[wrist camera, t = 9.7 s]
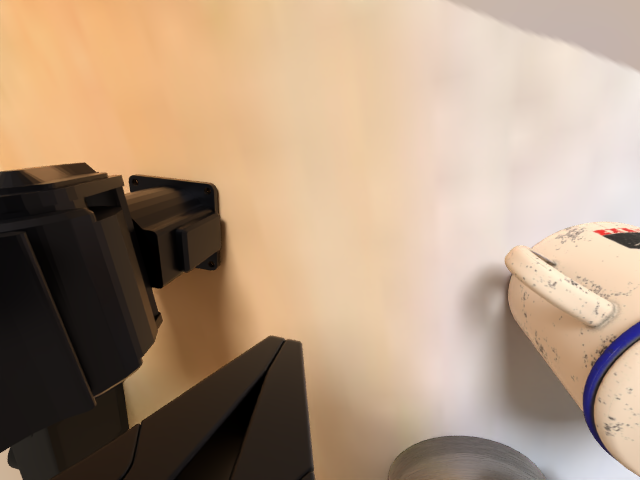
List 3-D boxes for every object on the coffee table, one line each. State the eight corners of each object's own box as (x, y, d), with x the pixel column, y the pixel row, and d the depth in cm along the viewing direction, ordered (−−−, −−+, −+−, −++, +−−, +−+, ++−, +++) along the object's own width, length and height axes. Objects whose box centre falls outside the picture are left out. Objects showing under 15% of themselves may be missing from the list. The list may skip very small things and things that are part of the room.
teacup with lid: (716, 267, 17) (1329, 508, 6) (586, 369, 20) (826, 641, 9) (533, 160, 17) (820, 208, 6) (434, 281, 20) (499, 453, 9)
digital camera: (68, 338, 29) (-22, 397, 22) (118, 351, 28) (40, 415, 22) (85, 414, 32) (12, 484, 26) (129, 427, 32) (66, 503, 25)
